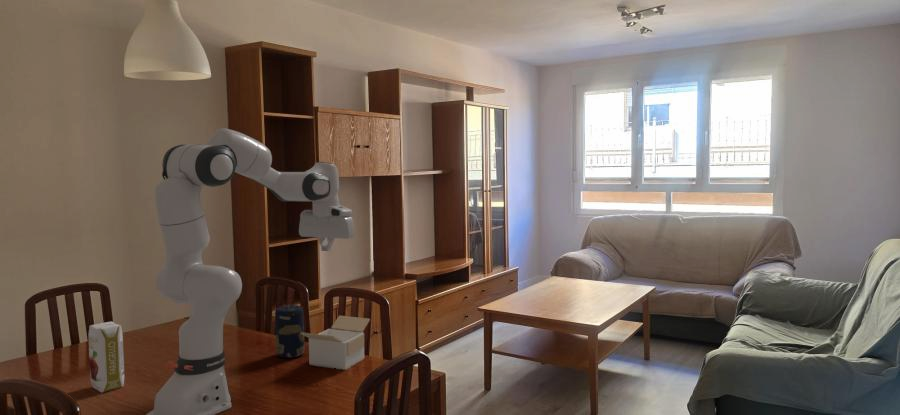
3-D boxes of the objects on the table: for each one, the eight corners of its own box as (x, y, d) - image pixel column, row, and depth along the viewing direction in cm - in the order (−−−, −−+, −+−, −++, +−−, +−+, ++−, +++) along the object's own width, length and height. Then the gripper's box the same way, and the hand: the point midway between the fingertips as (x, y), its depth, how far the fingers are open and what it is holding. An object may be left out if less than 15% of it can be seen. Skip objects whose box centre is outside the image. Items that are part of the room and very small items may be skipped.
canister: (308, 351, 207) (307, 301, 205) (299, 360, 197) (297, 308, 196) (282, 350, 208) (281, 301, 206) (271, 359, 198) (270, 307, 197)
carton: (346, 370, 187) (346, 343, 187) (308, 364, 193) (307, 338, 192) (365, 358, 198) (365, 332, 198) (328, 353, 204) (327, 328, 203)
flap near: (300, 332, 186) (300, 333, 186) (333, 336, 182) (333, 337, 182) (310, 337, 191) (310, 338, 191) (342, 341, 187) (342, 342, 187)
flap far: (369, 318, 203) (370, 319, 203) (339, 315, 207) (339, 316, 208) (362, 330, 198) (362, 332, 199) (331, 327, 203) (331, 328, 203)
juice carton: (115, 380, 179) (113, 320, 178) (127, 386, 174) (124, 324, 173) (88, 387, 174) (85, 325, 172) (99, 394, 168) (96, 330, 167)
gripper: (294, 209, 198) (295, 250, 198) (346, 211, 190) (346, 253, 191) (305, 209, 204) (306, 248, 204) (356, 210, 196) (356, 251, 197)
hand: (326, 250), depth 198 cm, fingers closed
